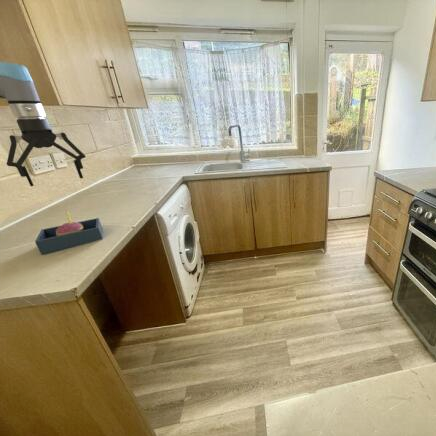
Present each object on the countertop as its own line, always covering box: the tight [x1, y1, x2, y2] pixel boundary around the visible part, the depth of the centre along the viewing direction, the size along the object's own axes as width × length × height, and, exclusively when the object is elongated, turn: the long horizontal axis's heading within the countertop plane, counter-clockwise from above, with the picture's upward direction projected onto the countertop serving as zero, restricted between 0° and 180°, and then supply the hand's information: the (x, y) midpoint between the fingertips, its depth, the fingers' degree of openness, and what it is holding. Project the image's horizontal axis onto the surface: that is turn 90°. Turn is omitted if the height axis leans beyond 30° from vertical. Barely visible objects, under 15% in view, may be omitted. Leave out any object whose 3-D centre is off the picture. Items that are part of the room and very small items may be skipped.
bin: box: [34, 217, 104, 255], centre depth 98 cm, size 19×13×6 cm
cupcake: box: [55, 210, 83, 236], centre depth 97 cm, size 9×8×12 cm
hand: (58, 181), depth 89 cm, fingers open, 13 cm apart
